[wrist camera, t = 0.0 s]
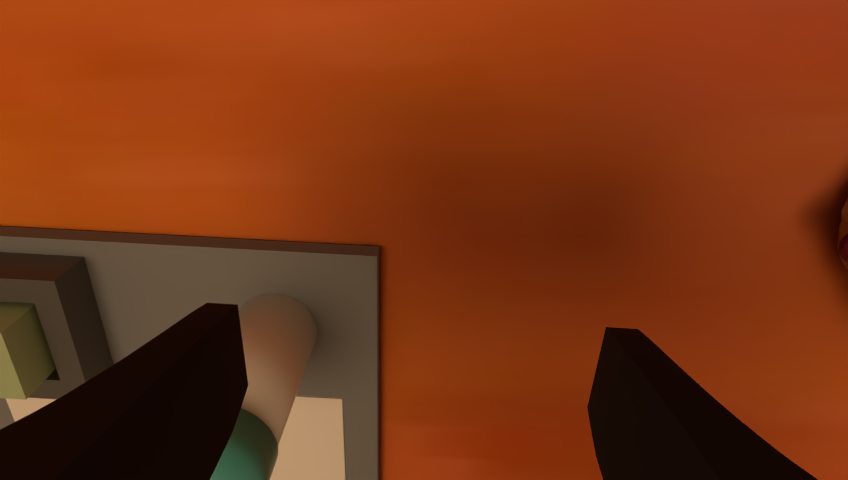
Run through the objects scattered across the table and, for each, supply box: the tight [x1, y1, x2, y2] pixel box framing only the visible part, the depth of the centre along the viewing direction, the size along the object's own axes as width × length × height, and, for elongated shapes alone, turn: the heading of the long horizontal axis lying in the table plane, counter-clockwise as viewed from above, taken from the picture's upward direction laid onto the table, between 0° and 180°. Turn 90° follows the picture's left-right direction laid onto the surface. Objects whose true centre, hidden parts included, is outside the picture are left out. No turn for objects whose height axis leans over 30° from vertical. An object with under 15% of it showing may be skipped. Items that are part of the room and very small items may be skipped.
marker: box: [210, 294, 317, 480], centre depth 19 cm, size 3×3×8 cm
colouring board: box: [0, 226, 380, 480], centre depth 25 cm, size 20×18×3 cm
